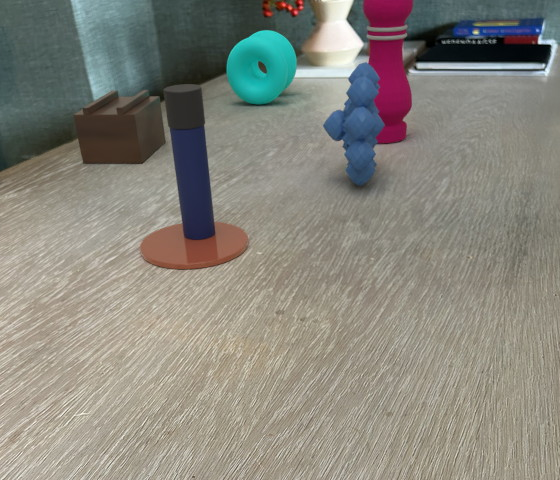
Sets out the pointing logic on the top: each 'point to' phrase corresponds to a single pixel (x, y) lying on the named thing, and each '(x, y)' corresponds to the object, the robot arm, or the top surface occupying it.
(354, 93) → the grapes
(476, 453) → the top surface
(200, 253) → the coaster
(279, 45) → the donuts
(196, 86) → the marker
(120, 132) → the block
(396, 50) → the pepper mill
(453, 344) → the top surface
